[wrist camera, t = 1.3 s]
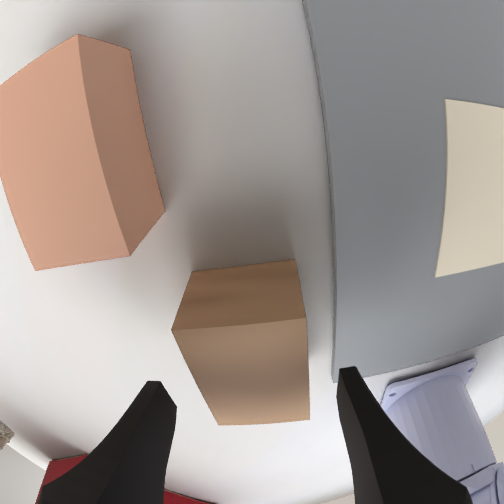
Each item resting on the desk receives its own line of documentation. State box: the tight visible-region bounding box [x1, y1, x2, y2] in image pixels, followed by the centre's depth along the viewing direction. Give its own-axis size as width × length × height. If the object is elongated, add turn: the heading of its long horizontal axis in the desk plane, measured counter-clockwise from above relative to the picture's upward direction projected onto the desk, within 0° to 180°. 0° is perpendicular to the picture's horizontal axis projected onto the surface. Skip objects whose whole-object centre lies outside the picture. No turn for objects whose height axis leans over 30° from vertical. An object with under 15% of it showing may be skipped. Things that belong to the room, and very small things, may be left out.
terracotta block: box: [0, 34, 165, 271], centre depth 9 cm, size 7×5×4 cm, turn 9°
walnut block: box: [171, 259, 310, 425], centre depth 13 cm, size 7×5×4 cm, turn 9°
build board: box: [302, 0, 504, 383], centre depth 10 cm, size 22×16×1 cm
